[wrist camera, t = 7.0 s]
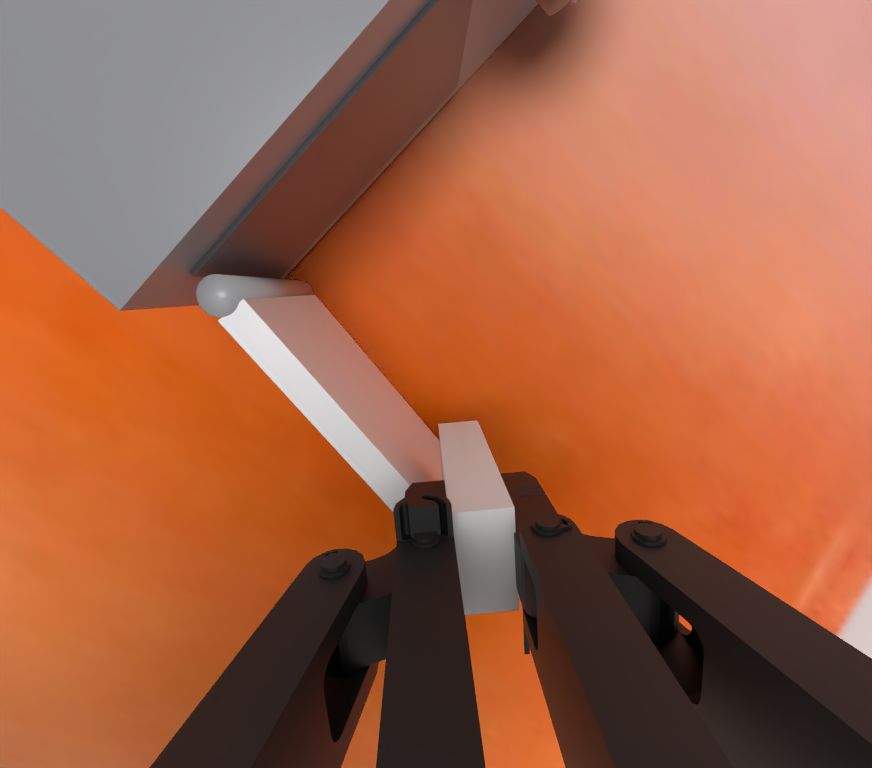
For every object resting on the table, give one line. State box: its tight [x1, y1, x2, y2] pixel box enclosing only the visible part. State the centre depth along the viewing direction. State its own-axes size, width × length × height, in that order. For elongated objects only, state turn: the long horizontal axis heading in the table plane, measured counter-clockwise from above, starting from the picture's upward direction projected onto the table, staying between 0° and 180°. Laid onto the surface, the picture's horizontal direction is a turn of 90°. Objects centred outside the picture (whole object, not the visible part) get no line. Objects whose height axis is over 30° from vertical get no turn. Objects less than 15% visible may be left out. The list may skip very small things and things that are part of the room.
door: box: [196, 274, 443, 513], centre depth 17 cm, size 12×2×8 cm, turn 39°
